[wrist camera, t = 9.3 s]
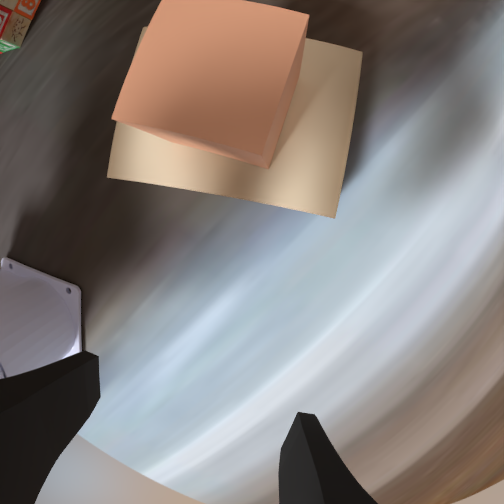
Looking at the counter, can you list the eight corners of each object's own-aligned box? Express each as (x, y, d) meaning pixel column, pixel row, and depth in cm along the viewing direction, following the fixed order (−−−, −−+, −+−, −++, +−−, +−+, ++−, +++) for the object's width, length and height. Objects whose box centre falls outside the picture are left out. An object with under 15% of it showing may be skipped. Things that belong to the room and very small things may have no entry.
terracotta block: (171, 142, 14) (111, 118, 8) (203, 54, 13) (165, -7, 7) (268, 169, 14) (261, 155, 8) (299, 76, 13) (309, 14, 7)
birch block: (137, 178, 19) (106, 177, 15) (165, 51, 17) (143, 27, 13) (322, 211, 18) (334, 218, 15) (346, 76, 16) (362, 52, 13)
